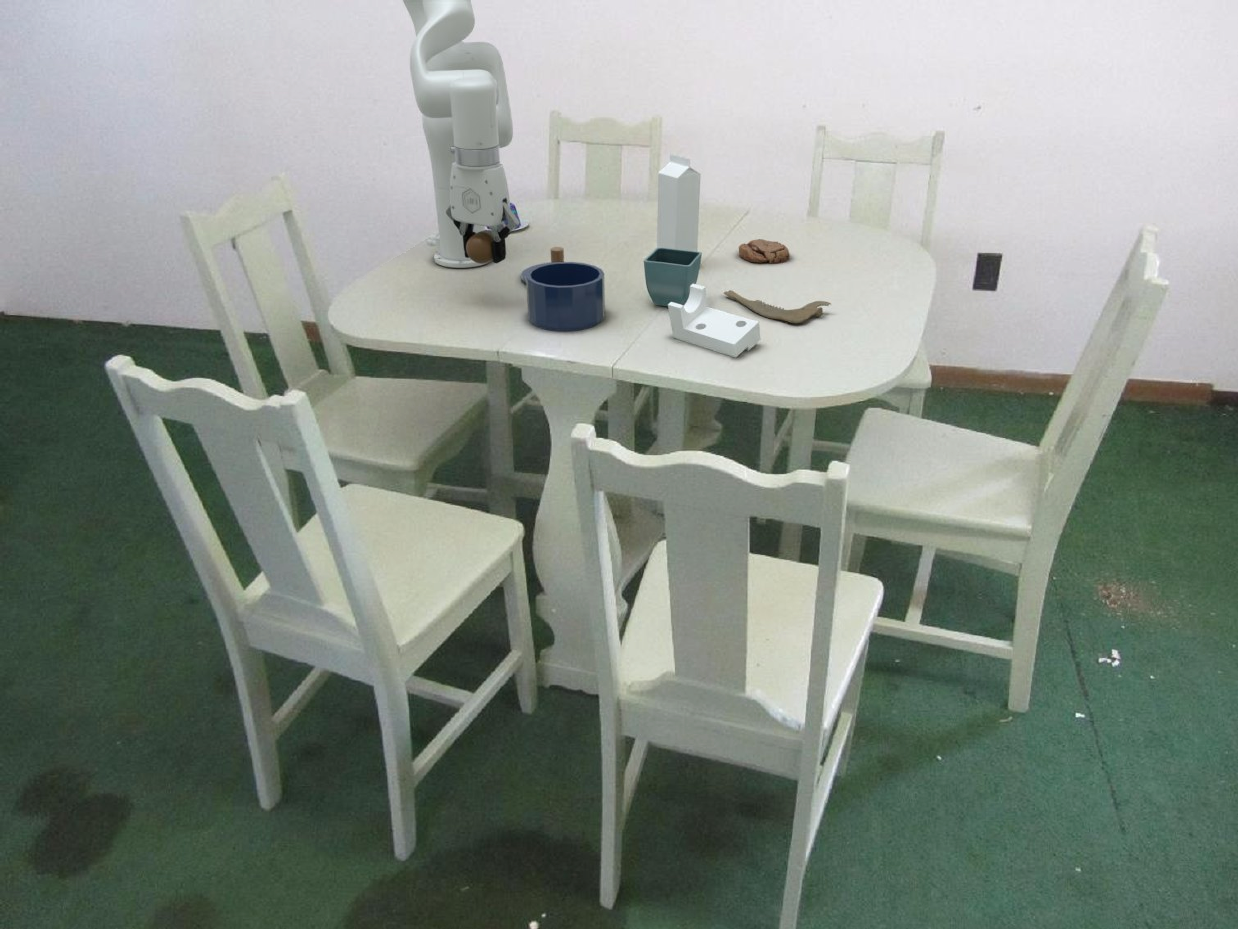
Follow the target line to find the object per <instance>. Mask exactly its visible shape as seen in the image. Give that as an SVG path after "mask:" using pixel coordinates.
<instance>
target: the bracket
mask: <svg viewBox="0 0 1238 929" xmlns="http://www.w3.org/2000/svg"><path fill="white" fill-rule="evenodd" d="M706 288H707V287H706V286H704V285H700V284H697V283H696V284H692V285H691V286H690V294H689V298H688V300H687V301H686V302H685V303H684V305H681V304H677V303H674V302H670V303H669V304H668V306H667V308H668V316H669V322H670V327H671V333H672V338H673V339H677V340H679V341H682V342H686V343H689V344H692V345H695V346H698V347H701V348H705V349H708V350H711V351H714V352H716V353H720V354H723V355H727V356H729V357H732V358H738V357H739V355H741V353H743V351H748V352H749V351H750V350H751V349H752V348H753V347H755V345H757V344H758V343H759V342H760V341H761V339H762V338H761V329H760V328H761V327H760V321H758V320H755V319H751V318H747V317H743V316H740V315H737V314H734V313H729V312H728V311H727V312H726V311H723V310H720V309H716V308H713V307H709V304H708V303H709V302H708V296H707V289H706Z"/></svg>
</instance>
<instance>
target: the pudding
mask: <svg viewBox="0 0 1238 929" xmlns="http://www.w3.org/2000/svg"><path fill="white" fill-rule="evenodd" d="M510 209H511V210H512V212H513V213H514V214H515V216H516V217H517V219H518V220H519V222H520V224H519V225H518V226H517V227H516V228H515V229H514V230H513V231H514V232H515V231H518V230H521V229H524V228H527V227H528V226H529V224H530V222H529V220H527V219H524V218H522V217H519V214H518V211H517V207H516V205H515V204H514V203H512V202H510ZM504 224H505V226H506V225H507V224H508V221H504ZM497 227H498V226H497ZM485 230H491V229H490V227H487V226H485ZM498 230H499V228H498ZM513 231H512V232H513ZM499 232H500V231H499Z"/></svg>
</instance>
